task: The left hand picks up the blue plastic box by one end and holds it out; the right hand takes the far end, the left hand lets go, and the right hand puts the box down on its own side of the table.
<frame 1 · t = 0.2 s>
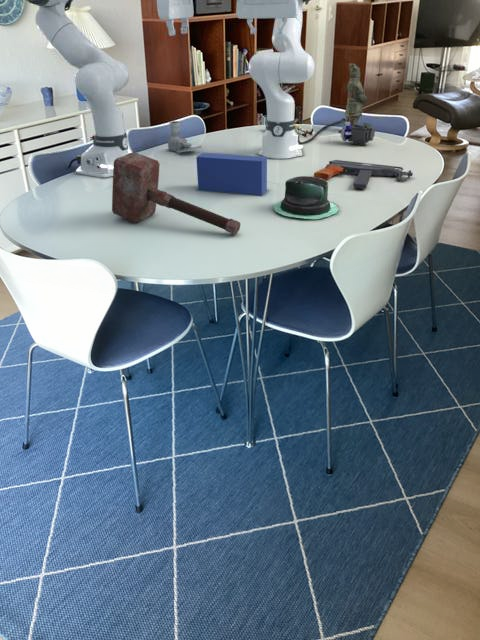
left hand: (178, 34, 183), 47 cm above the table, tool pointing down, fingers open, 8 cm apart
right hand: (267, 34, 183), 47 cm above the table, tool pointing down, fingers open, 8 cm apart
sledgehammer: (177, 225, 164), on the table
grey boot: (182, 151, 241), on the table
submachine gun: (361, 179, 200), on the table
green fedora hat: (305, 209, 174), on the table
box: (232, 190, 192), on the table
statue: (353, 131, 270), on the table
figurine: (288, 133, 268), on the table
toy: (355, 144, 247), on the table
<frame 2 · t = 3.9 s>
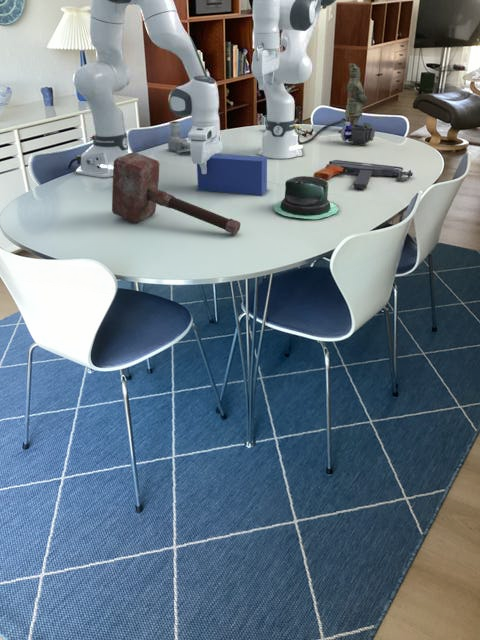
left hand: (208, 170, 192), 6 cm above the table, tool pointing down, fingers closed on box, 6 cm apart
right hand: (265, 87, 190), 31 cm above the table, tool pointing down, fingers open, 8 cm apart
box: (232, 190, 192), on the table, touching left hand
everything else where it was.
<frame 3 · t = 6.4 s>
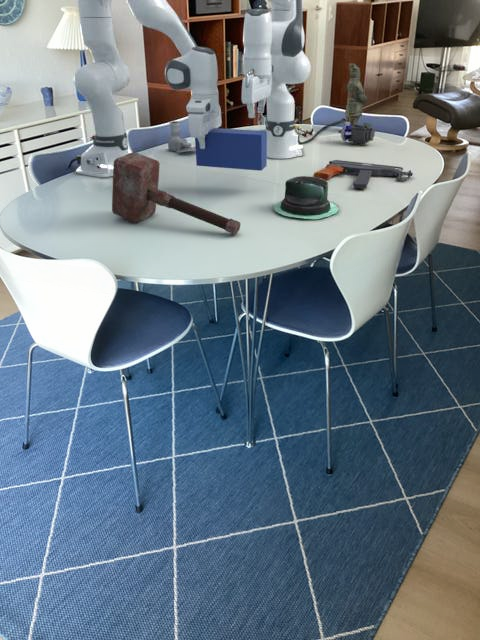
left hand: (207, 145, 187), 15 cm above the table, tool pointing down, fingers closed on box, 6 cm apart
right hand: (256, 115, 179), 25 cm above the table, tool pointing down, fingers open, 8 cm apart
box: (231, 165, 188), point 8 cm above the table, touching left hand
everything else where it was.
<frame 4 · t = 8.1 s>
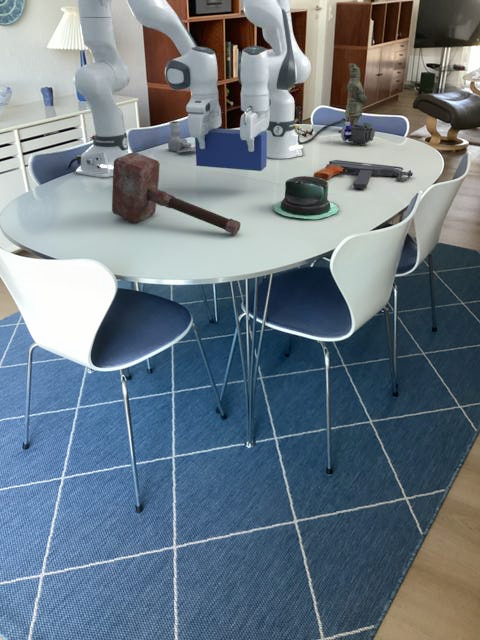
left hand: (207, 145, 187), 15 cm above the table, tool pointing down, fingers closed on box, 6 cm apart
right hand: (255, 148, 182), 15 cm above the table, tool pointing down, fingers closed on box, 6 cm apart
box: (231, 166, 188), point 8 cm above the table, touching left hand, right hand
everything else where it was.
when the left hand's fingers open (15 cm above the table, at t = 9.3 s): box moves 2 cm, held by the right hand.
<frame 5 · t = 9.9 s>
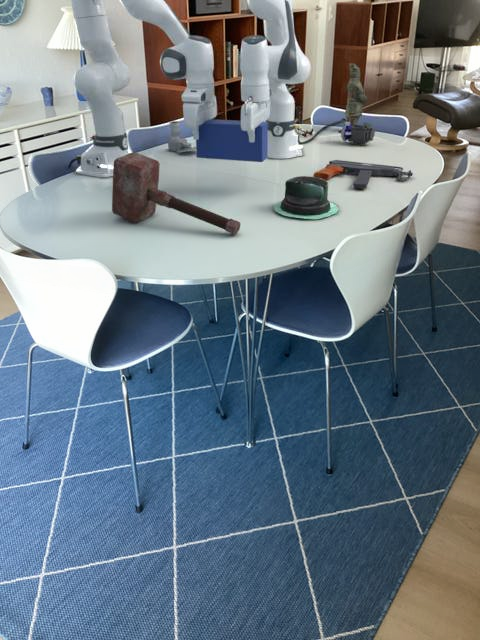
left hand: (202, 136, 186), 18 cm above the table, tool pointing down, fingers open, 8 cm apart
right hand: (255, 139, 181), 18 cm above the table, tool pointing down, fingers closed on box, 6 cm apart
box: (232, 157, 187), point 11 cm above the table, touching right hand
everything else where it was.
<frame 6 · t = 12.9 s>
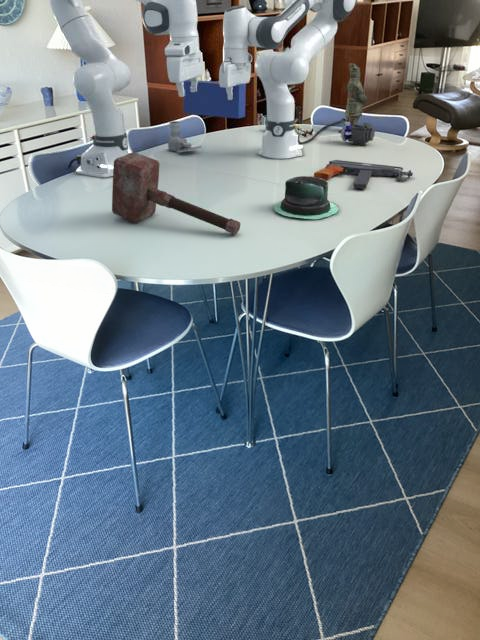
left hand: (188, 94, 181), 31 cm above the table, tool pointing down, fingers open, 8 cm apart
right hand: (234, 98, 206), 25 cm above the table, tool pointing down, fingers closed on box, 6 cm apart
box: (214, 114, 212), point 19 cm above the table, touching right hand
everything else where it was.
when the right hand's fingers open (7 cm above the table, at t = 18.1 s): box stays where it is, on the table.
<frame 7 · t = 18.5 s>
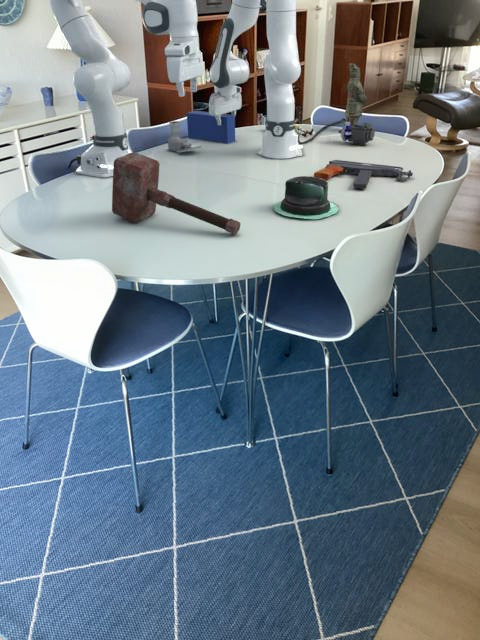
left hand: (188, 94, 181), 31 cm above the table, tool pointing down, fingers open, 8 cm apart
right hand: (226, 123, 252), 8 cm above the table, tool pointing down, fingers open, 8 cm apart
box: (211, 139, 260), on the table
everything else where it was.
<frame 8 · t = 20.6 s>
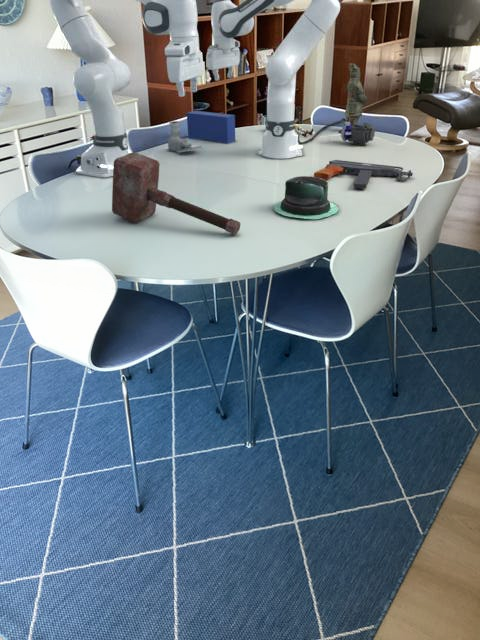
left hand: (188, 94, 181), 31 cm above the table, tool pointing down, fingers open, 8 cm apart
right hand: (223, 79, 243), 27 cm above the table, tool pointing down, fingers open, 8 cm apart
nothing on the table moved.
at the end: box inside the target area (8.3 cm from its centre), on the table; the left hand is holding nothing; the right hand is holding nothing; box at rest at the end (0.0 cm/s) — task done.
